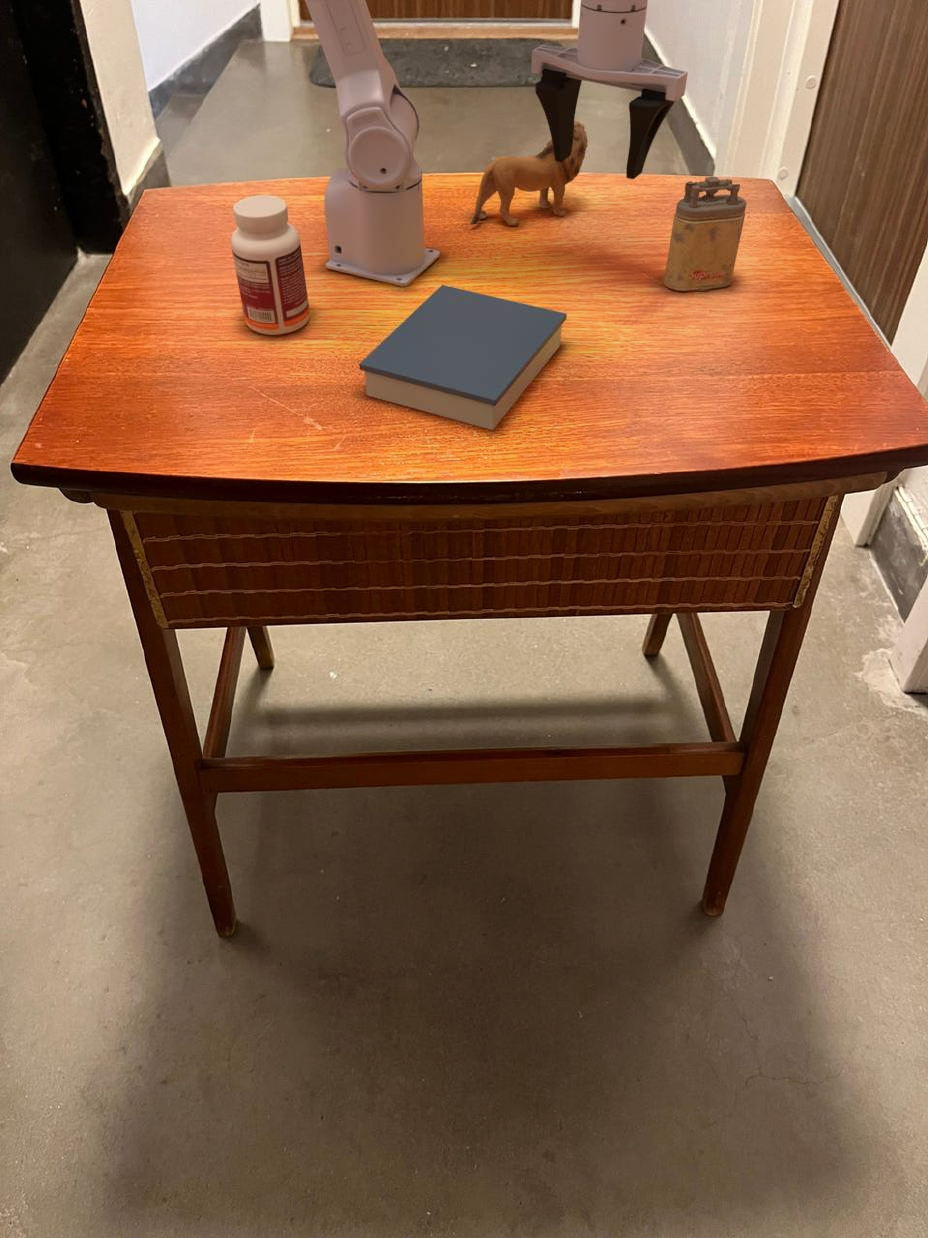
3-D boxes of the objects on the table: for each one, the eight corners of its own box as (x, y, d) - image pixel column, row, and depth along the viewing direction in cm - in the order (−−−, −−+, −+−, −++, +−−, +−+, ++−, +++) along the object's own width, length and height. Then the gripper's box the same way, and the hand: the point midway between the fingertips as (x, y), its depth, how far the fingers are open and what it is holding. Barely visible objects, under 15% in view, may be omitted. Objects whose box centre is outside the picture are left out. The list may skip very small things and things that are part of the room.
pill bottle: (301, 300, 96) (287, 186, 89) (317, 330, 92) (303, 214, 84) (239, 311, 95) (218, 196, 87) (252, 342, 91) (231, 224, 83)
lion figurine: (565, 192, 115) (571, 110, 108) (593, 208, 112) (601, 125, 105) (458, 221, 109) (458, 135, 103) (484, 238, 106) (486, 152, 100)
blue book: (361, 396, 85) (358, 363, 82) (442, 315, 94) (442, 284, 92) (494, 433, 81) (495, 400, 78) (564, 345, 91) (567, 313, 88)
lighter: (723, 271, 101) (743, 171, 94) (738, 288, 98) (760, 187, 91) (658, 277, 100) (673, 177, 93) (671, 295, 97) (687, 193, 90)
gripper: (710, 5, 84) (684, 168, 94) (561, -19, 89) (551, 138, 99) (677, 25, 80) (653, 193, 90) (523, -1, 85) (516, 160, 95)
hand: (597, 166), depth 94 cm, fingers open, 7 cm apart
